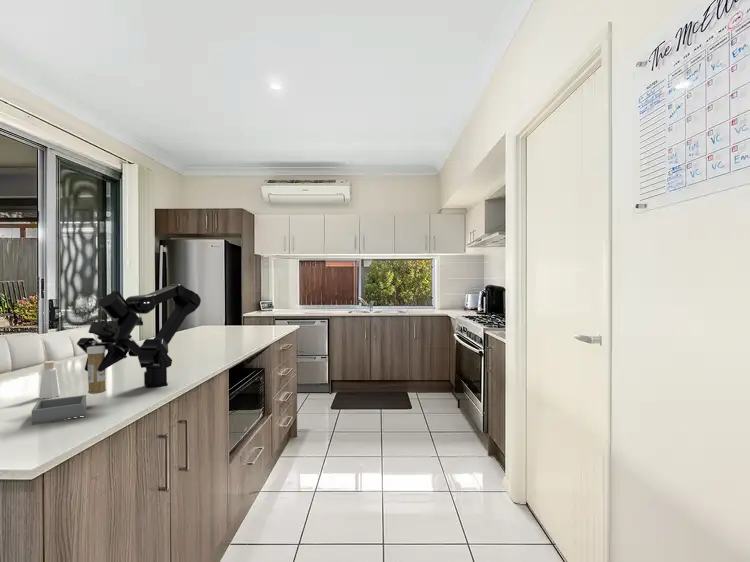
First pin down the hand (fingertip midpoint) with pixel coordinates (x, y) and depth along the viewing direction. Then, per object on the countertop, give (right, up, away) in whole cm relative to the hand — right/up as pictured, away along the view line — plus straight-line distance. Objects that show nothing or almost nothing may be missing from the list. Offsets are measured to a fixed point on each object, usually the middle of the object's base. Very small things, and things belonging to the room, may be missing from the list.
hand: (92, 370), depth 128 cm
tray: (-2, -10, -10) cm, 14 cm away
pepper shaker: (-20, -11, +11) cm, 25 cm away
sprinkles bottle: (0, -7, +1) cm, 7 cm away
